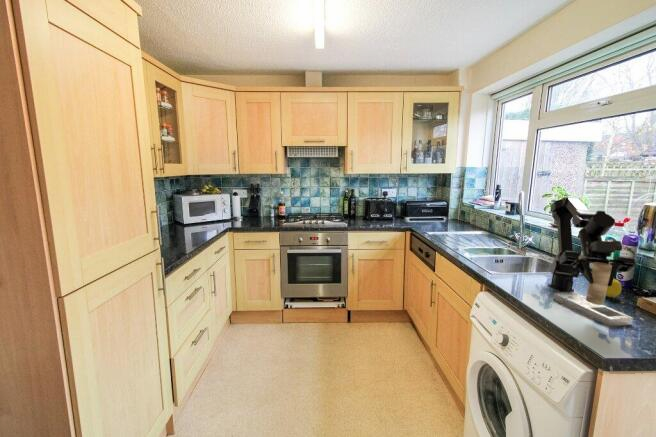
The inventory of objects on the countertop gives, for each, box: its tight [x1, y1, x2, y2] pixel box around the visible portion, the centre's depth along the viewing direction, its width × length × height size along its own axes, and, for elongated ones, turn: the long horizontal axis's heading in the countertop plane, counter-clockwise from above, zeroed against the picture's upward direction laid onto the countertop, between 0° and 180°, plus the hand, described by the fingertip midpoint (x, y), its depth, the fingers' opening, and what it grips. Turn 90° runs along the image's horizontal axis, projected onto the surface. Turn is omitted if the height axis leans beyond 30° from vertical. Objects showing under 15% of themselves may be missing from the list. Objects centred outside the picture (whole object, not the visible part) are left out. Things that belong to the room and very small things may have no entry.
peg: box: [585, 262, 612, 305], centre depth 96 cm, size 4×4×13 cm
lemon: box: [606, 277, 623, 298], centre depth 116 cm, size 6×6×8 cm
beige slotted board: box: [552, 291, 634, 327], centre depth 105 cm, size 20×9×2 cm, turn 10°
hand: (600, 284), depth 95 cm, fingers closed on peg, 4 cm apart
